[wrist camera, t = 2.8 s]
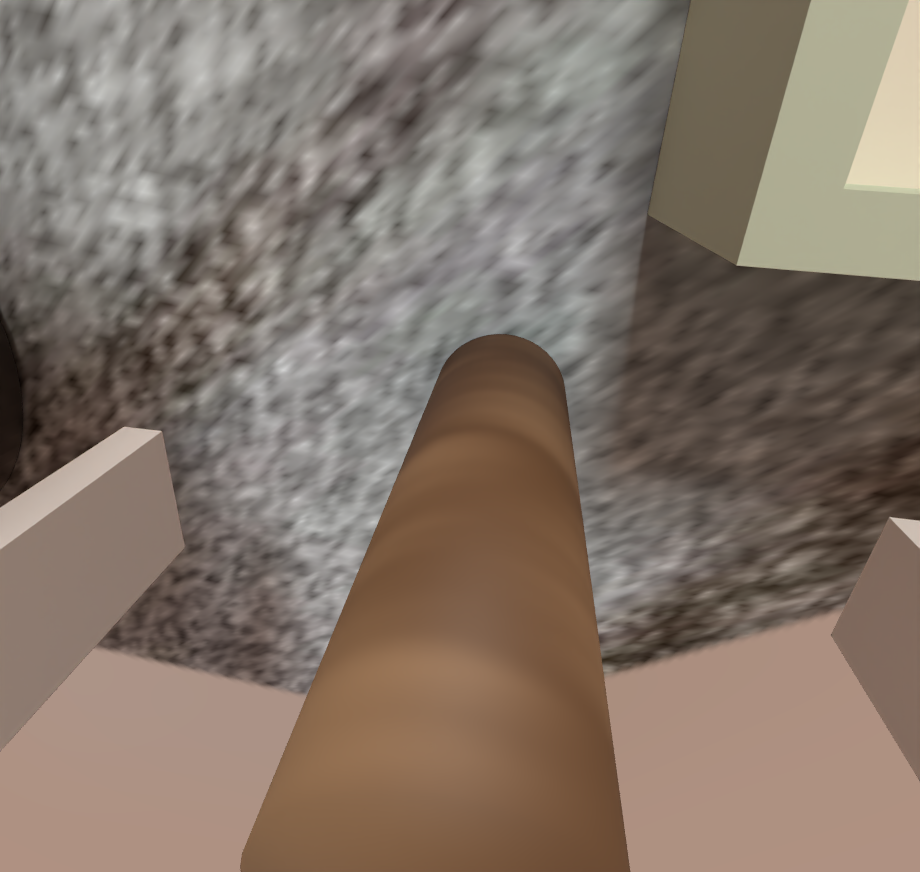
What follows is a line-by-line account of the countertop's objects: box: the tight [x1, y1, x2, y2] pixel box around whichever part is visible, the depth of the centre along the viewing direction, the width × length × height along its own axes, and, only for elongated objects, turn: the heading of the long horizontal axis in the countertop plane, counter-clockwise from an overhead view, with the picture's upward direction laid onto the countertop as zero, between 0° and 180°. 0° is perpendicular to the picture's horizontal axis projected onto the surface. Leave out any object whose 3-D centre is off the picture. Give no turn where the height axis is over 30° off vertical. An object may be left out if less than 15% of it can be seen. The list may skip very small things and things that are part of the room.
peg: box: [240, 334, 630, 872], centre depth 10 cm, size 4×4×12 cm
